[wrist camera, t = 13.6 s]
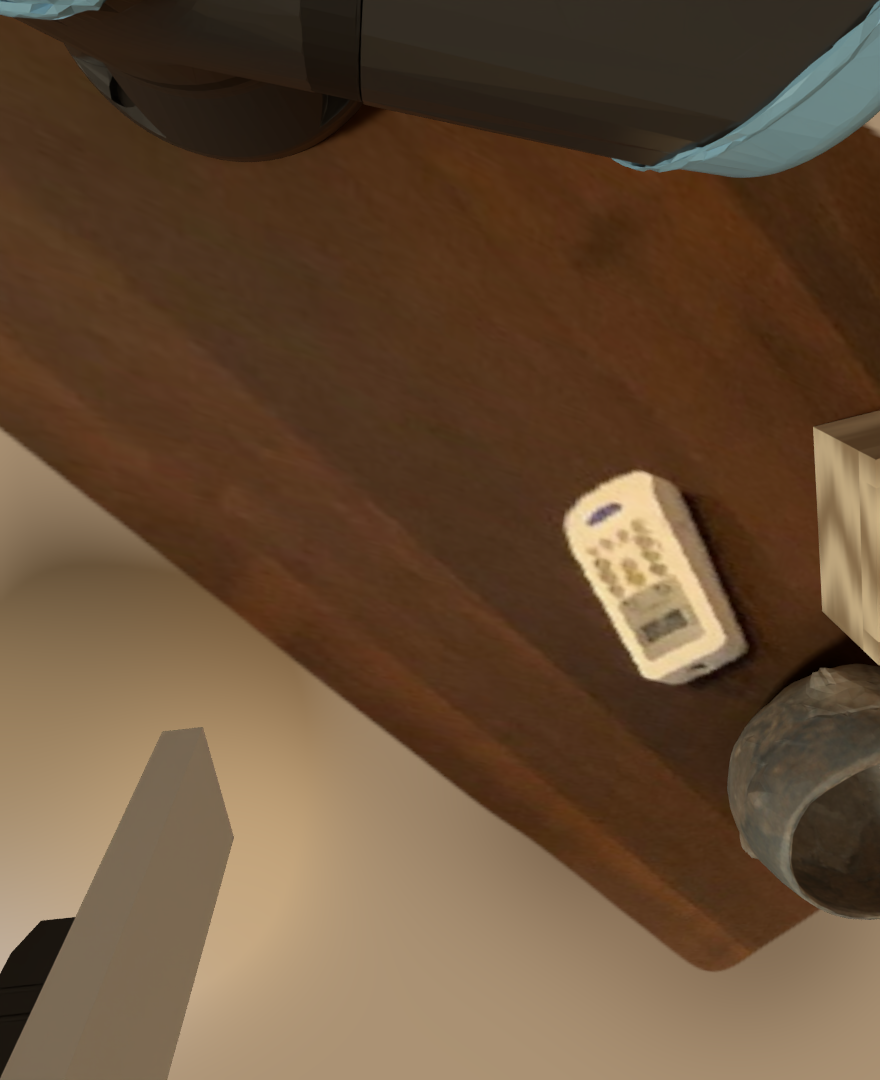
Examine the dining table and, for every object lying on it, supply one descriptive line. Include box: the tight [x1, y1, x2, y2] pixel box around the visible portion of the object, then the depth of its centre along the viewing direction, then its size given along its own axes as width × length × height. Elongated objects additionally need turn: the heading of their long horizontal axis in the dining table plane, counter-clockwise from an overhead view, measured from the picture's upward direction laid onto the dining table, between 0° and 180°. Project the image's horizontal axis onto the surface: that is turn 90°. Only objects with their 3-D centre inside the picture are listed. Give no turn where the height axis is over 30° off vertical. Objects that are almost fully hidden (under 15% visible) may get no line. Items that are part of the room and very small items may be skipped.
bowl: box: [727, 664, 880, 920], centre depth 46 cm, size 14×15×10 cm
